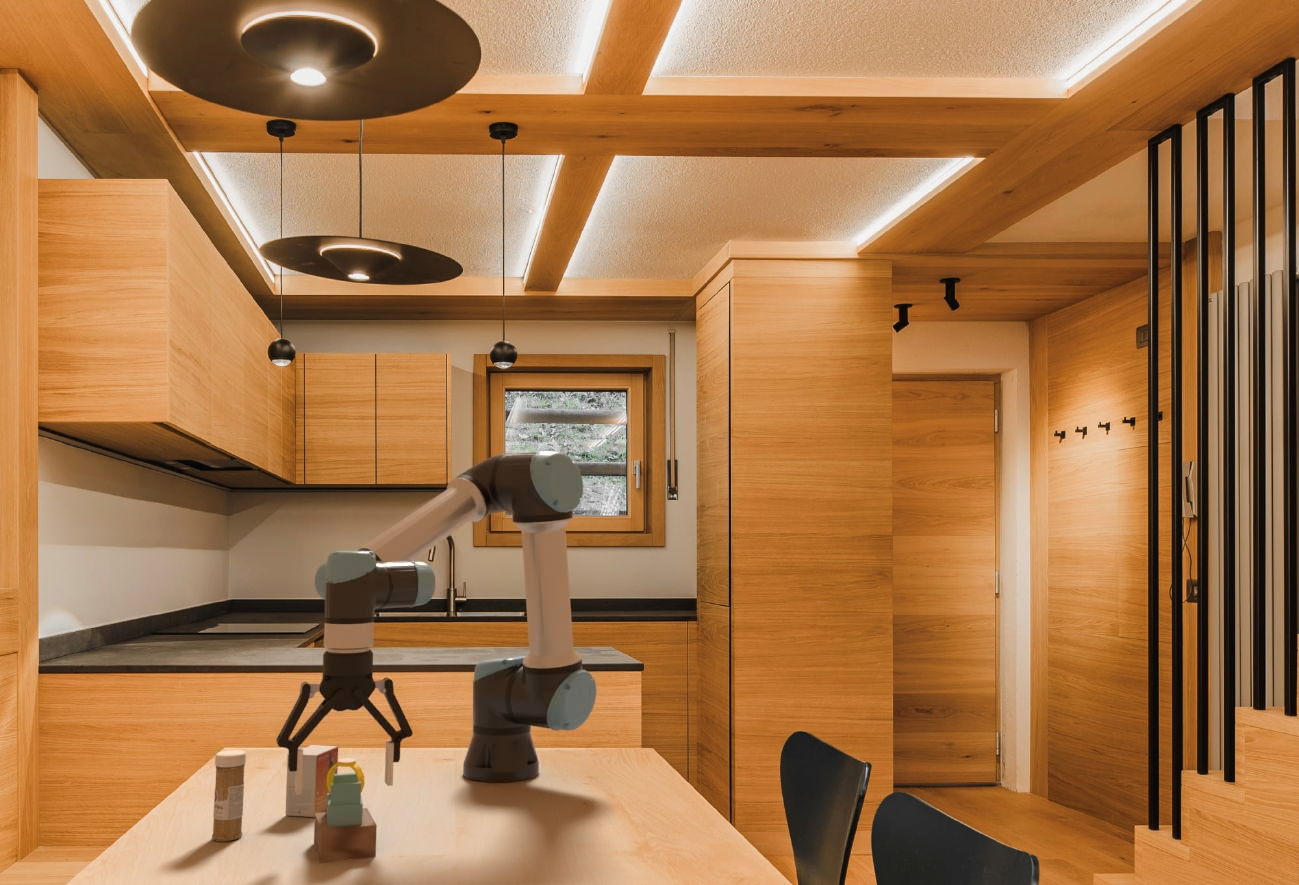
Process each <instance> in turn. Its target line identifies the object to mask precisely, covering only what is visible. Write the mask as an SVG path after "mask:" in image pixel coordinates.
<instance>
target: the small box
mask: <svg viewBox="0 0 1299 885" xmlns="http://www.w3.org/2000/svg"><path fill="white" fill-rule="evenodd" d="M302 749H303V770H302V794H300V795H296V792H295V771H292V772H290V770H289V768H288V758H287V761H286V762H287V764H286V766H287V767H286V768H287V769H286V788H285V789H286V790H285V791H286V792H285V797H286V798H285V816H289V817H290V816H291V817H303V818H304V817H305V818H315V813H322V812H327V793H329V790H328V787H327V775H328V772H329V770H330V769H331V767H332V766H333V765H335V764H337V761H338V760H339V746H335V745H316V744H311V745H308V746H307V747H304V748H302ZM338 767H339V766H338ZM338 767H337V769H336V771H335V773H334V774H338V770H339V769H338Z"/></svg>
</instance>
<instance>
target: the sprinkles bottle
mask: <svg viewBox="0 0 1299 885" xmlns="http://www.w3.org/2000/svg"><path fill="white" fill-rule="evenodd" d="M246 754H247V753H246V751H244V750H241V749H229V750H228V749H227V750H222V751H219V752H217V753H216V754H215V756H214V765H215V788H214V802H213V824H212V825H213V827H212V835H211V839H212V840H214V841H215V842H230V841H235V840H238V839H240V838H241V837H242V836H243V832H242V826H243V824H242V823H243V814H244V792H245V782H244V781H245V780H244V779H245V766H246V763H247V762H246V761H247V760H246V759H247V755H246Z"/></svg>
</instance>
